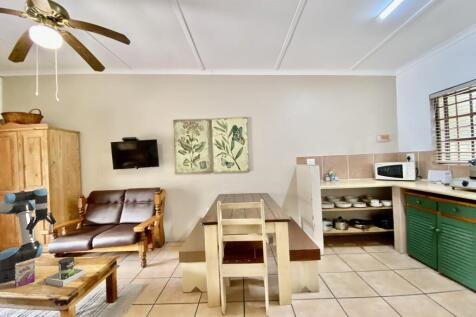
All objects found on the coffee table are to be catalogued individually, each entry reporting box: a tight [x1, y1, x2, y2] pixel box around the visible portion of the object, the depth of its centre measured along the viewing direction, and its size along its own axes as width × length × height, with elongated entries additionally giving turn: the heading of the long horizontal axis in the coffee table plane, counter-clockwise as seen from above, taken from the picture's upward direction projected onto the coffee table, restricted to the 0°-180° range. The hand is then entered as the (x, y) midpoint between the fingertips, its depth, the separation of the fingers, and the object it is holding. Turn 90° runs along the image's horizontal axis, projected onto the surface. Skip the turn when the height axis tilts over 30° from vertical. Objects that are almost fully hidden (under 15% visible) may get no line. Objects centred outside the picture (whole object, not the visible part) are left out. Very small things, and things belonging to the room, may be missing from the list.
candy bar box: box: [14, 259, 36, 288], centre depth 174 cm, size 11×5×16 cm, turn 131°
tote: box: [45, 267, 87, 287], centre depth 180 cm, size 18×18×4 cm
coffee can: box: [57, 256, 75, 280], centre depth 180 cm, size 10×10×14 cm
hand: (41, 235), depth 178 cm, fingers open, 13 cm apart
